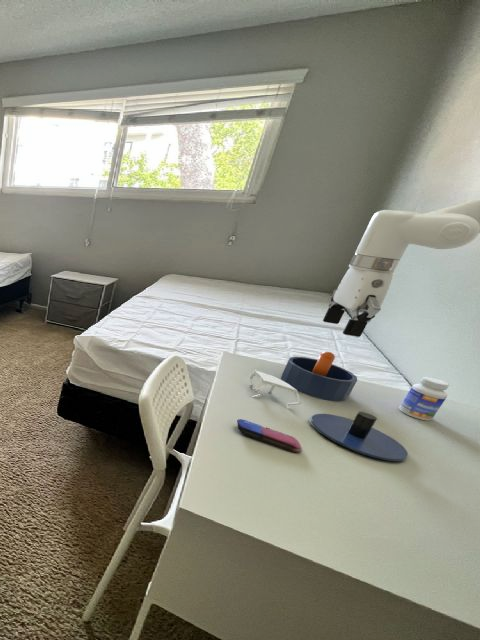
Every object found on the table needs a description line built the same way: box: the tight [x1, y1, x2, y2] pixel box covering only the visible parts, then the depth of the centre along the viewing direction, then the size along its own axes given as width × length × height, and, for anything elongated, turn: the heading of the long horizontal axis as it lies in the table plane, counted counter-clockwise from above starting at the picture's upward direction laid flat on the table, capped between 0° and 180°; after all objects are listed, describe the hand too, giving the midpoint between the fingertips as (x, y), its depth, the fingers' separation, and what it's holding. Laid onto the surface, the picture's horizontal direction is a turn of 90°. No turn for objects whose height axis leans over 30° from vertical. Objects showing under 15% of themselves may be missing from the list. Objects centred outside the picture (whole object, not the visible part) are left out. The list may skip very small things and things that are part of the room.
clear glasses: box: [249, 369, 302, 410], centre depth 89 cm, size 12×8×5 cm
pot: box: [280, 356, 358, 402], centre depth 95 cm, size 14×14×6 cm
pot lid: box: [310, 411, 409, 462], centre depth 75 cm, size 15×15×6 cm
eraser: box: [236, 418, 303, 454], centre depth 73 cm, size 11×4×2 cm, turn 56°
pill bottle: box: [398, 376, 450, 421], centre depth 85 cm, size 5×5×10 cm
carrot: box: [312, 351, 336, 377], centre depth 94 cm, size 3×3×10 cm
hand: (340, 328), depth 90 cm, fingers open, 9 cm apart
